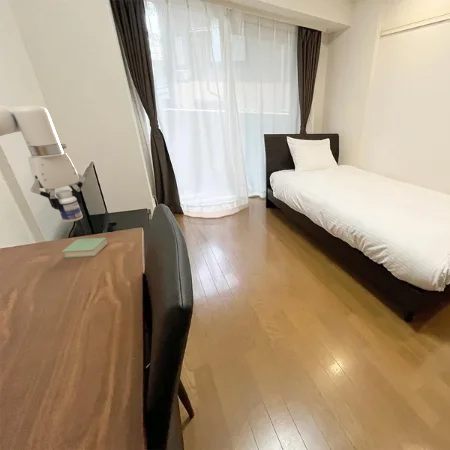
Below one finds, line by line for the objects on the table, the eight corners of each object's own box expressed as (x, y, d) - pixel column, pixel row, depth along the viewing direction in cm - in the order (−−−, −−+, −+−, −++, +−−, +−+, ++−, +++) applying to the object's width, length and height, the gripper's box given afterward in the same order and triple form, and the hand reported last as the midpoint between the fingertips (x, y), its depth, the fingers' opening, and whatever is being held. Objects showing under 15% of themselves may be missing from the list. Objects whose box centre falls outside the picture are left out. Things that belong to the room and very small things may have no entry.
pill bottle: (62, 218, 92) (51, 191, 88) (81, 214, 95) (72, 187, 91) (64, 223, 88) (53, 195, 84) (84, 219, 92) (74, 191, 88)
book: (64, 257, 93) (61, 251, 92) (80, 244, 101) (77, 238, 100) (95, 256, 94) (92, 250, 93) (108, 243, 102) (106, 237, 101)
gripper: (70, 145, 90) (88, 196, 98) (3, 154, 76) (30, 213, 84) (84, 146, 88) (102, 199, 96) (17, 156, 74) (44, 217, 81)
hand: (68, 205), depth 90 cm, fingers closed on pill bottle, 5 cm apart
